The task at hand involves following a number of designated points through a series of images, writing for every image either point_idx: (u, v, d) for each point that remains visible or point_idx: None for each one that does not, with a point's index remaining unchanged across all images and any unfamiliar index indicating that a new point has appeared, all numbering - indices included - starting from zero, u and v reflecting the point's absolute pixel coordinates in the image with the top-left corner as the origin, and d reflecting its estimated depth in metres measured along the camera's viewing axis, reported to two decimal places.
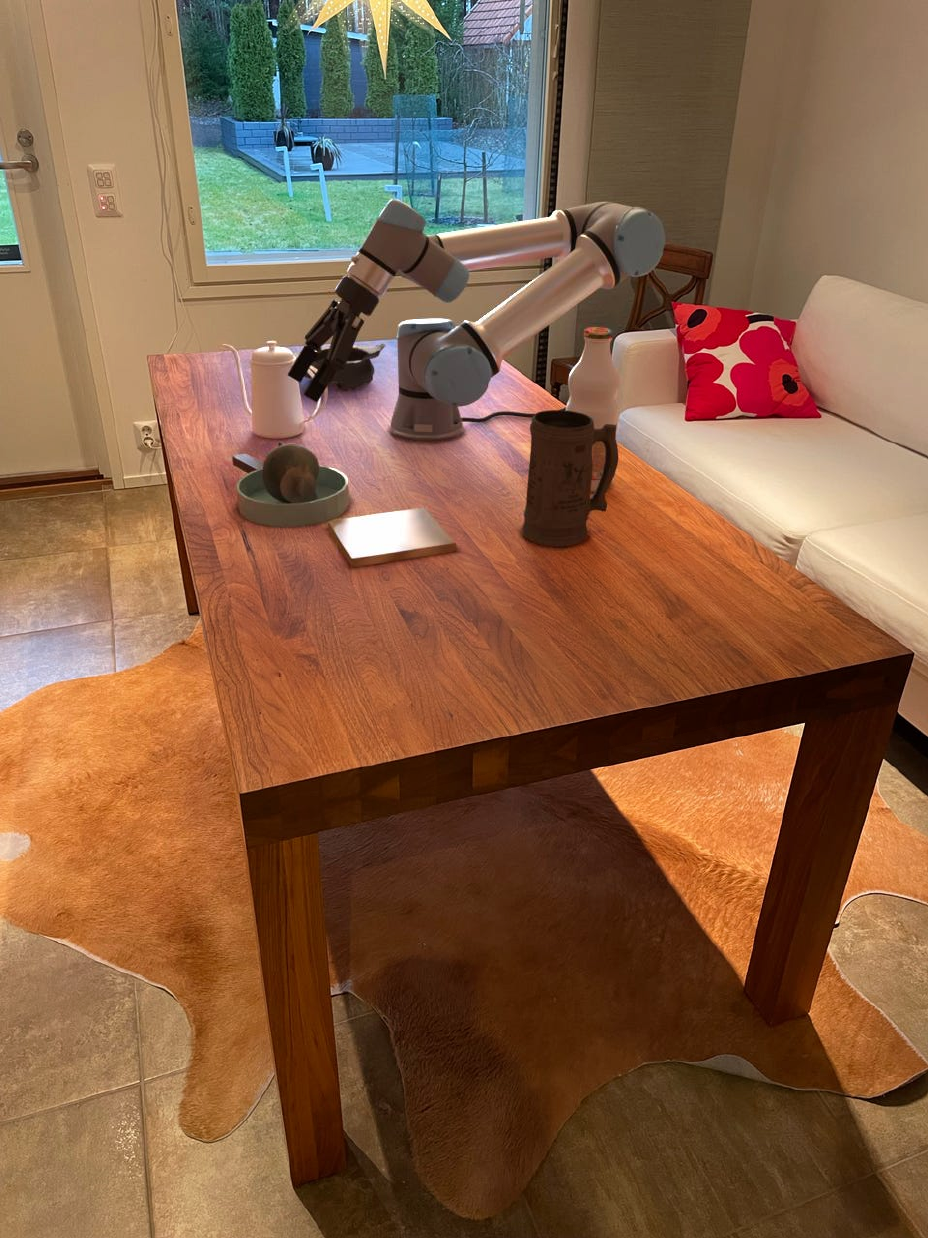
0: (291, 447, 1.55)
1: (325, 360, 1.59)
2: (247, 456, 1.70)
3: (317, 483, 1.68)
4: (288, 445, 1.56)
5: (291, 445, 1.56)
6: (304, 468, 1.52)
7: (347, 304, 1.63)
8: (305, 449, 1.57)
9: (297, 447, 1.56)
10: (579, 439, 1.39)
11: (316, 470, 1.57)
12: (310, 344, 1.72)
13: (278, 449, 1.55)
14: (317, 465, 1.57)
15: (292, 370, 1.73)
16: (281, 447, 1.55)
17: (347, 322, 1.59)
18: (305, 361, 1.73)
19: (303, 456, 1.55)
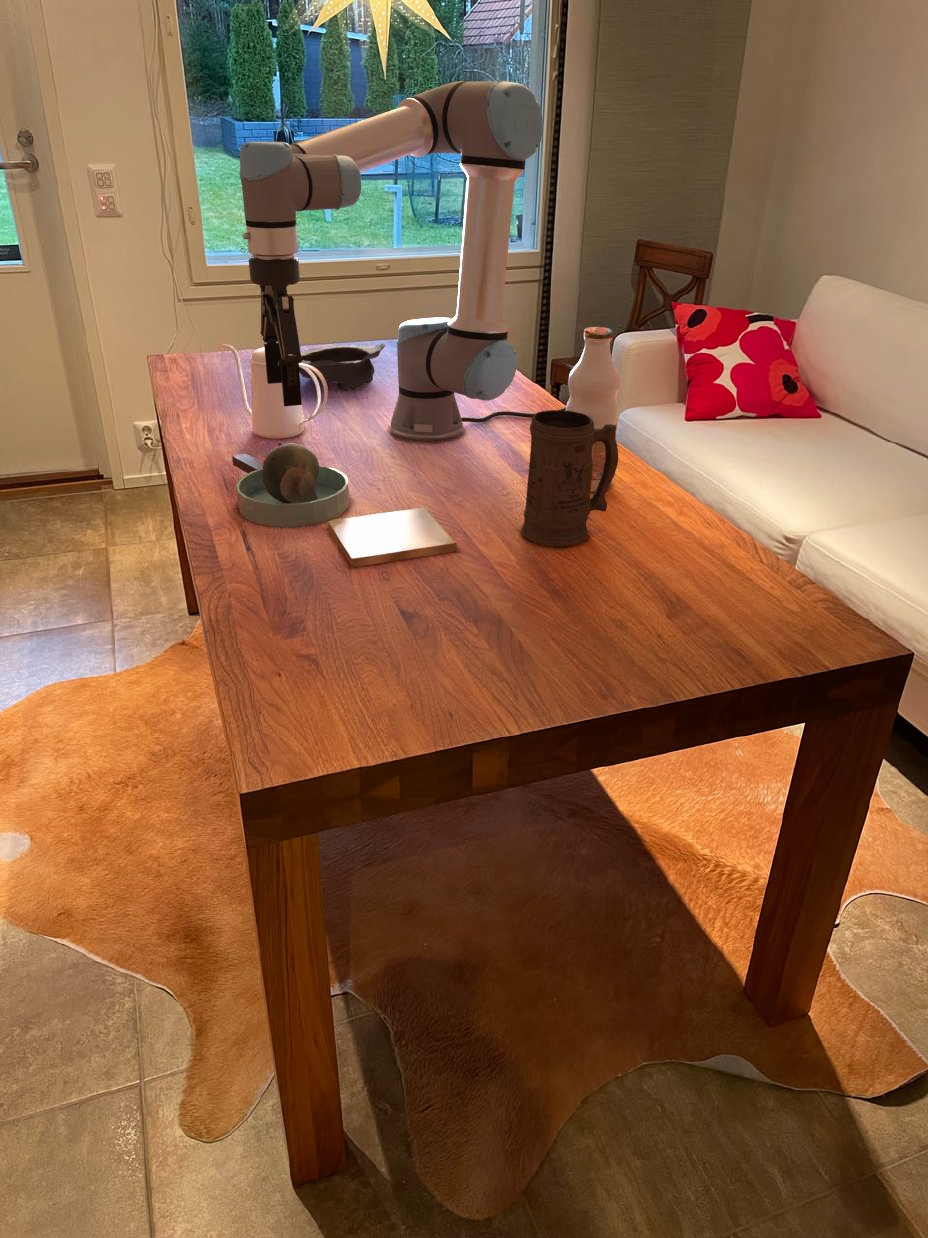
0: (291, 447, 1.55)
1: (280, 362, 1.40)
2: (247, 456, 1.70)
3: (317, 483, 1.68)
4: (288, 445, 1.56)
5: (291, 445, 1.56)
6: (304, 468, 1.52)
7: (270, 286, 1.41)
8: (305, 449, 1.57)
9: (297, 447, 1.56)
10: (579, 439, 1.39)
11: (316, 470, 1.57)
12: (268, 340, 1.53)
13: (278, 449, 1.55)
14: (317, 465, 1.57)
15: (268, 376, 1.55)
16: (281, 447, 1.55)
17: (277, 309, 1.38)
18: (274, 359, 1.54)
19: (303, 456, 1.55)
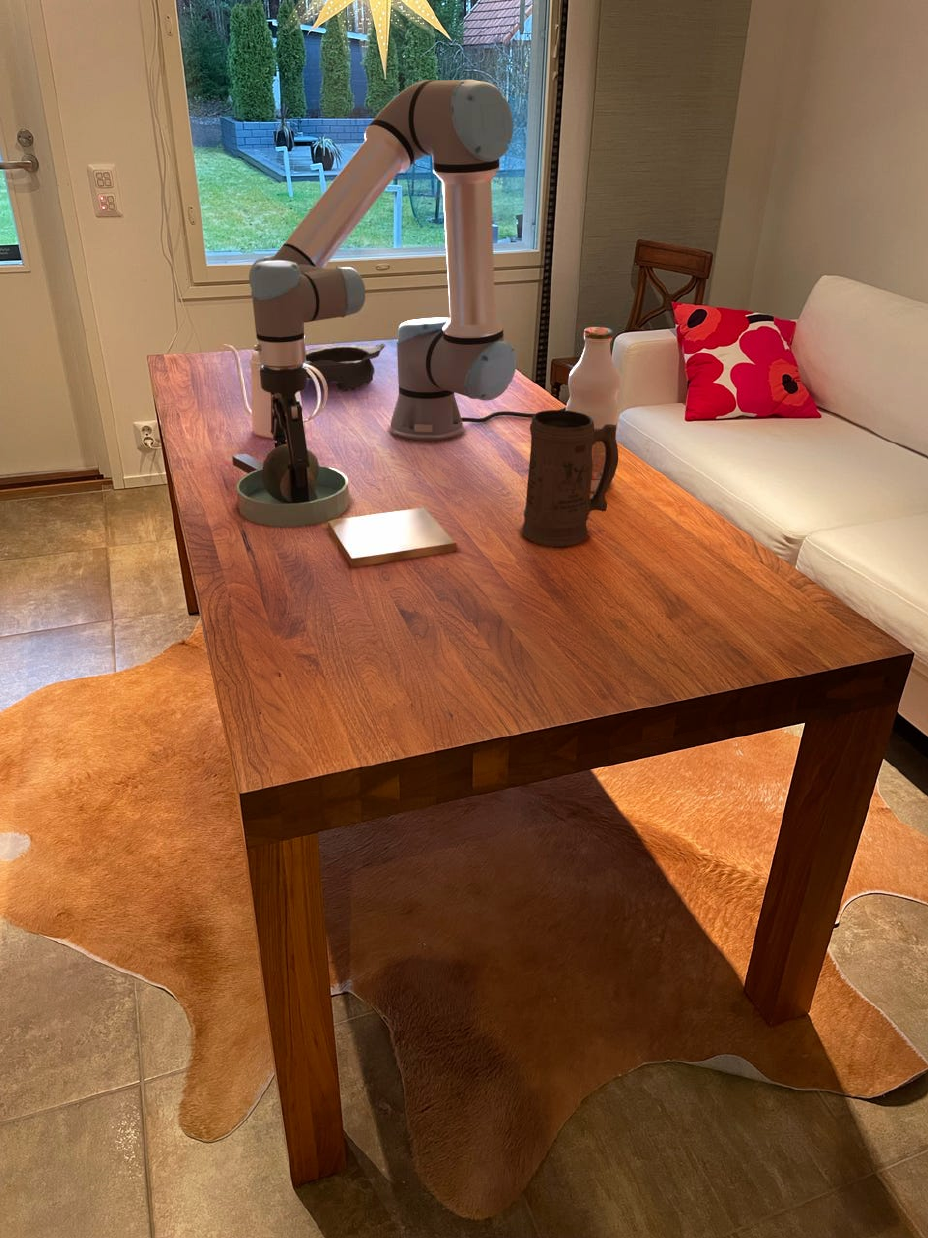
0: None
1: (289, 466, 1.49)
2: (247, 456, 1.70)
3: (317, 483, 1.68)
4: None
5: None
6: None
7: (279, 392, 1.49)
8: None
9: None
10: (579, 439, 1.39)
11: (316, 470, 1.57)
12: (278, 439, 1.61)
13: (278, 449, 1.55)
14: (317, 465, 1.57)
15: None
16: (281, 447, 1.55)
17: (287, 418, 1.46)
18: None
19: None
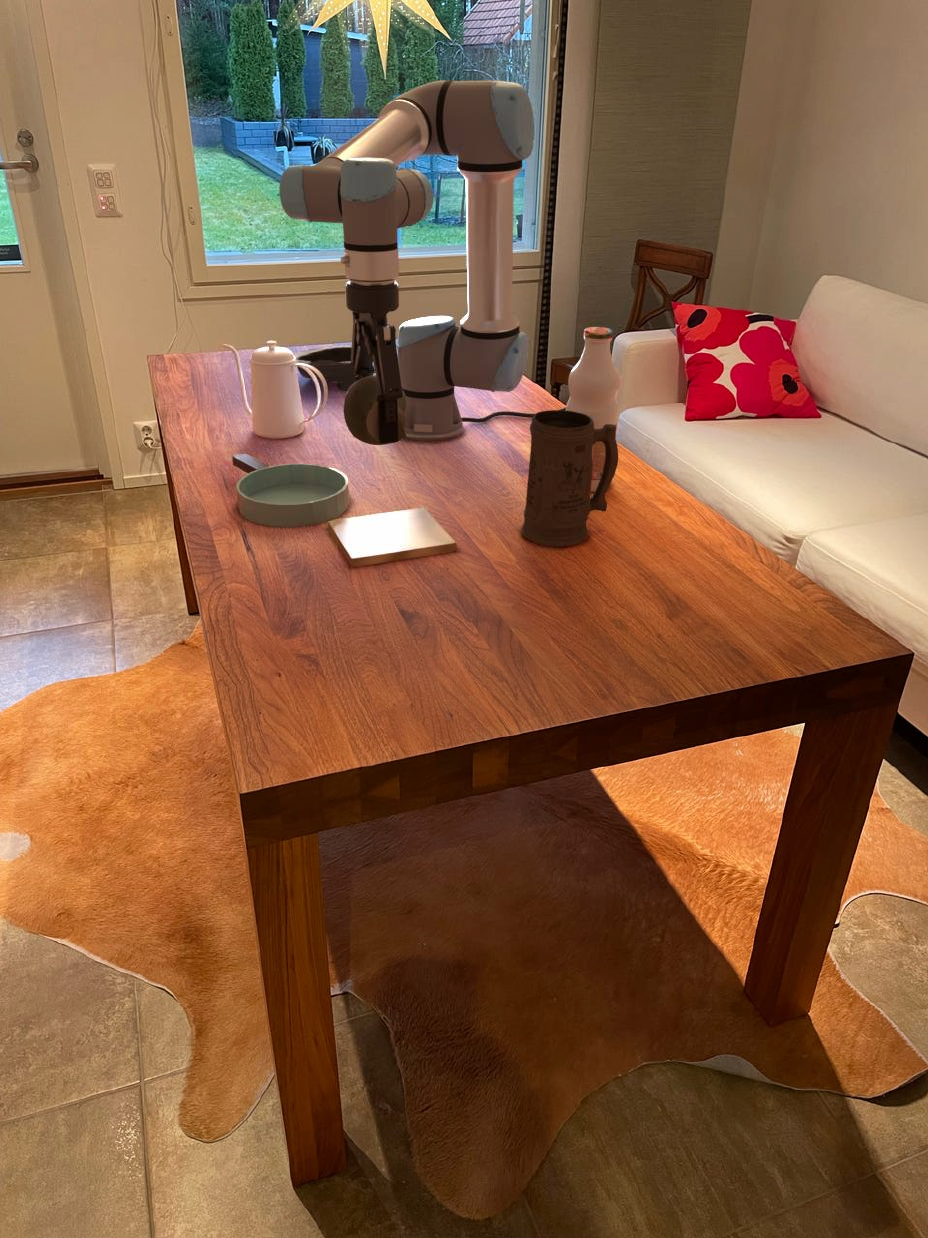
0: None
1: (379, 398, 1.30)
2: (247, 456, 1.70)
3: (317, 483, 1.68)
4: (373, 376, 1.37)
5: None
6: None
7: (367, 313, 1.31)
8: None
9: None
10: (579, 439, 1.39)
11: (404, 405, 1.38)
12: (360, 372, 1.42)
13: (362, 381, 1.37)
14: (405, 400, 1.39)
15: None
16: (365, 379, 1.37)
17: (378, 340, 1.28)
18: None
19: (390, 389, 1.37)
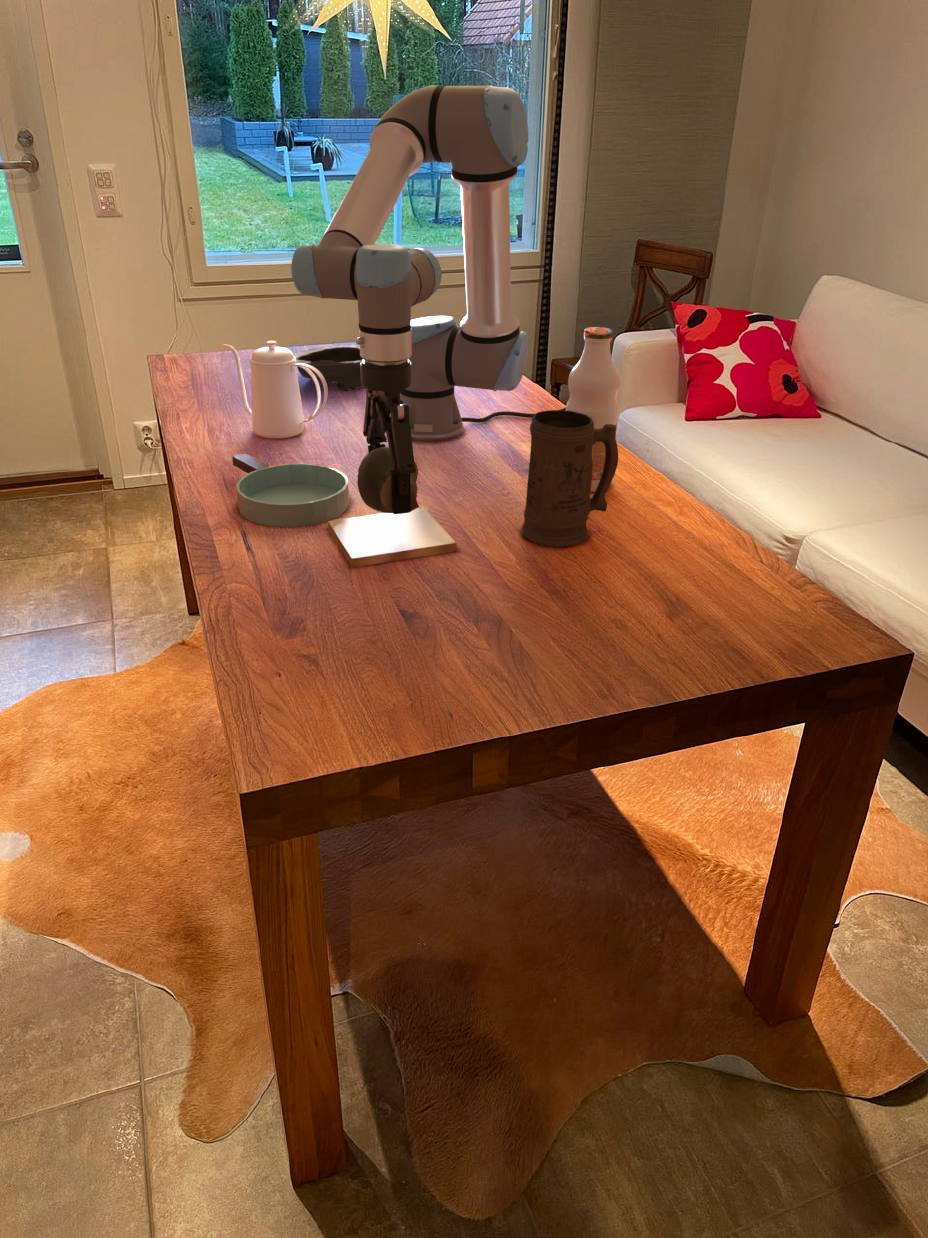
0: None
1: (393, 472, 1.35)
2: (247, 456, 1.70)
3: (317, 483, 1.68)
4: (386, 448, 1.41)
5: None
6: None
7: None
8: None
9: None
10: (579, 439, 1.39)
11: (416, 476, 1.43)
12: (373, 441, 1.47)
13: (375, 453, 1.41)
14: (417, 470, 1.43)
15: None
16: (378, 450, 1.41)
17: (392, 418, 1.32)
18: None
19: None
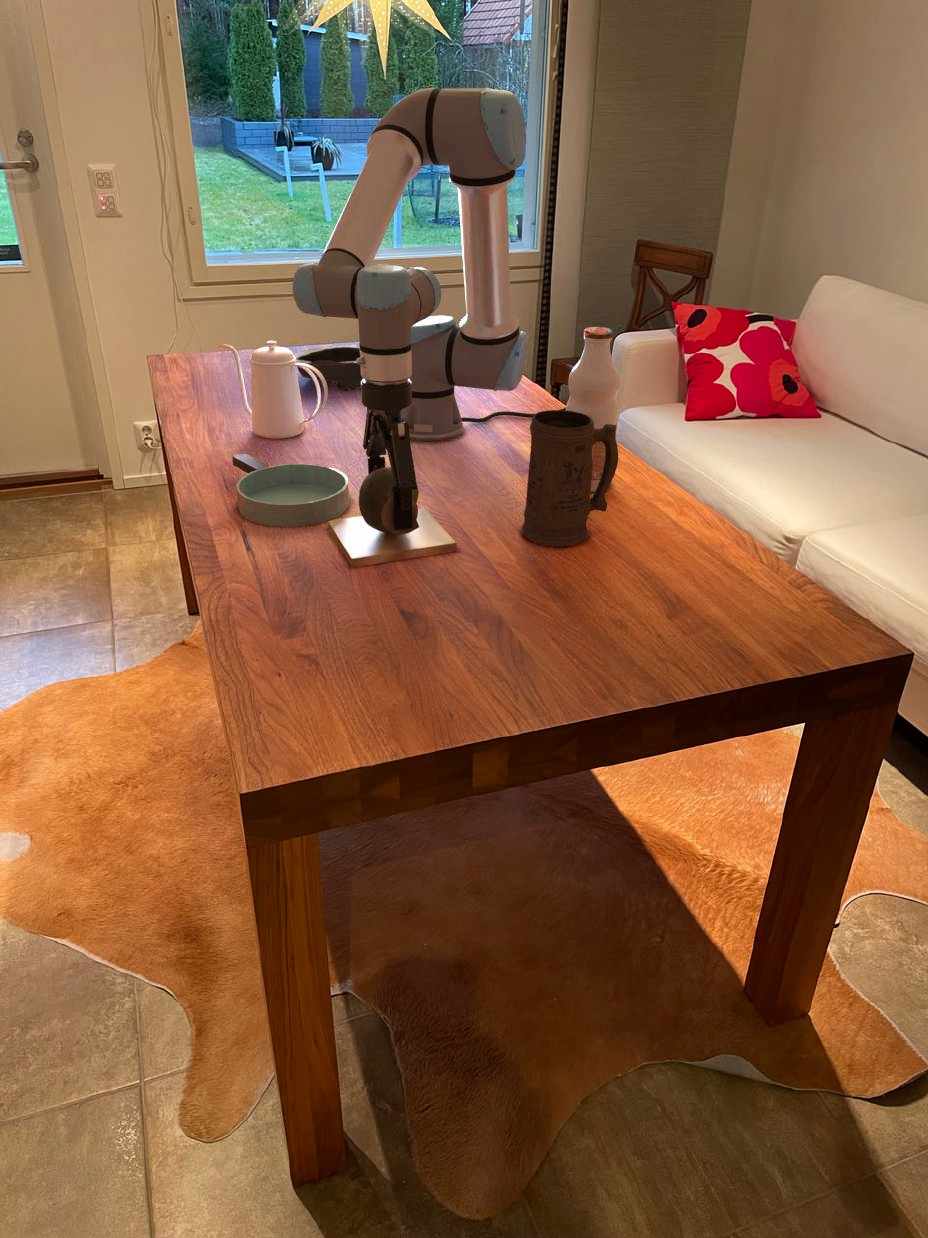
0: (391, 472, 1.43)
1: (394, 489, 1.35)
2: (247, 456, 1.70)
3: (317, 483, 1.68)
4: (387, 469, 1.43)
5: (390, 469, 1.43)
6: None
7: None
8: None
9: None
10: (579, 439, 1.39)
11: (416, 496, 1.44)
12: (372, 454, 1.48)
13: (376, 474, 1.43)
14: (417, 491, 1.45)
15: None
16: (380, 471, 1.43)
17: (392, 436, 1.33)
18: None
19: None
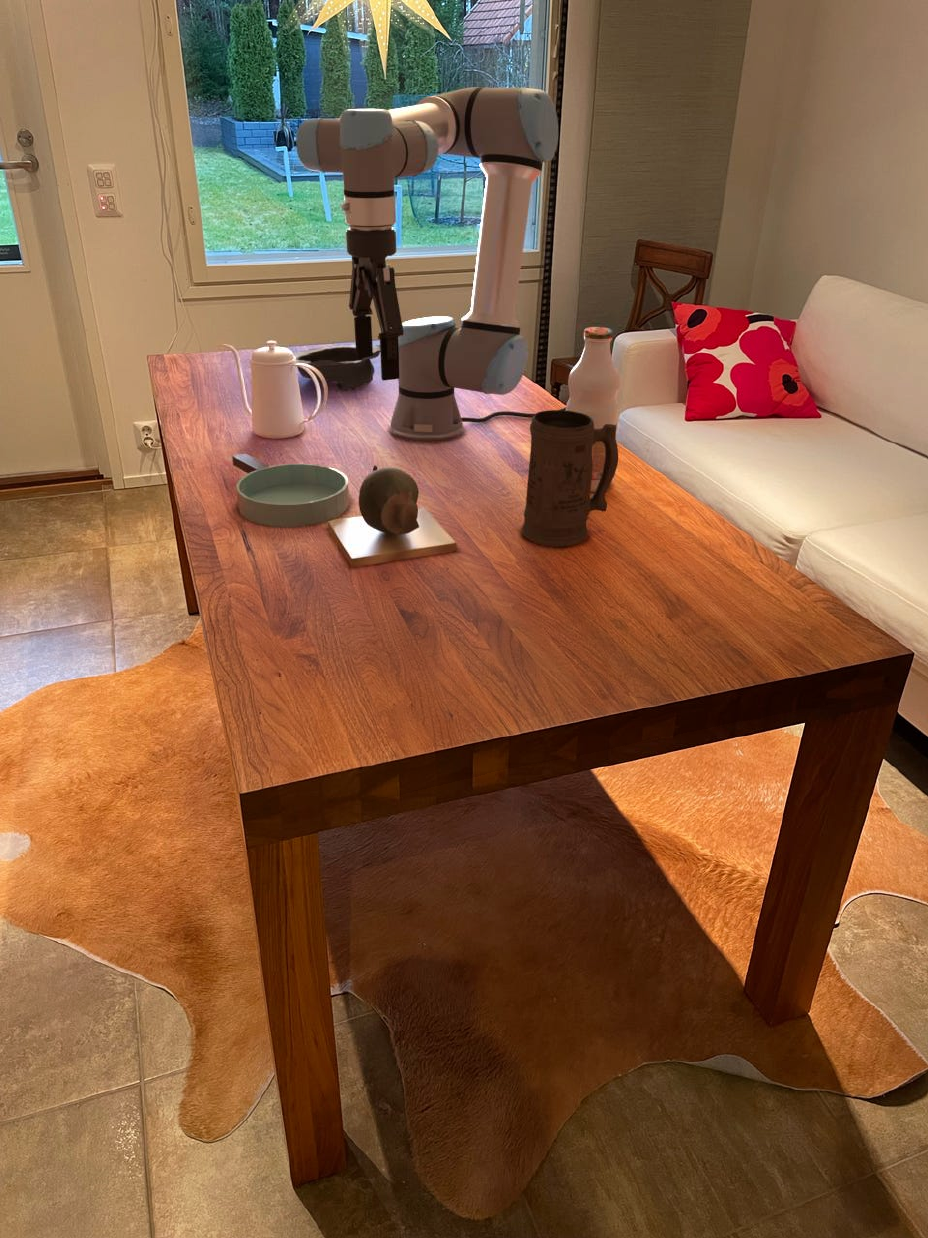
0: (391, 472, 1.43)
1: (381, 335, 1.38)
2: (247, 456, 1.70)
3: (317, 483, 1.68)
4: (387, 469, 1.43)
5: (390, 469, 1.43)
6: (407, 495, 1.40)
7: (367, 257, 1.39)
8: (404, 473, 1.45)
9: (396, 471, 1.43)
10: (579, 439, 1.39)
11: (416, 496, 1.44)
12: (358, 313, 1.51)
13: (376, 474, 1.43)
14: (417, 491, 1.45)
15: (358, 350, 1.53)
16: (380, 471, 1.43)
17: (378, 281, 1.36)
18: (364, 333, 1.52)
19: (403, 481, 1.43)
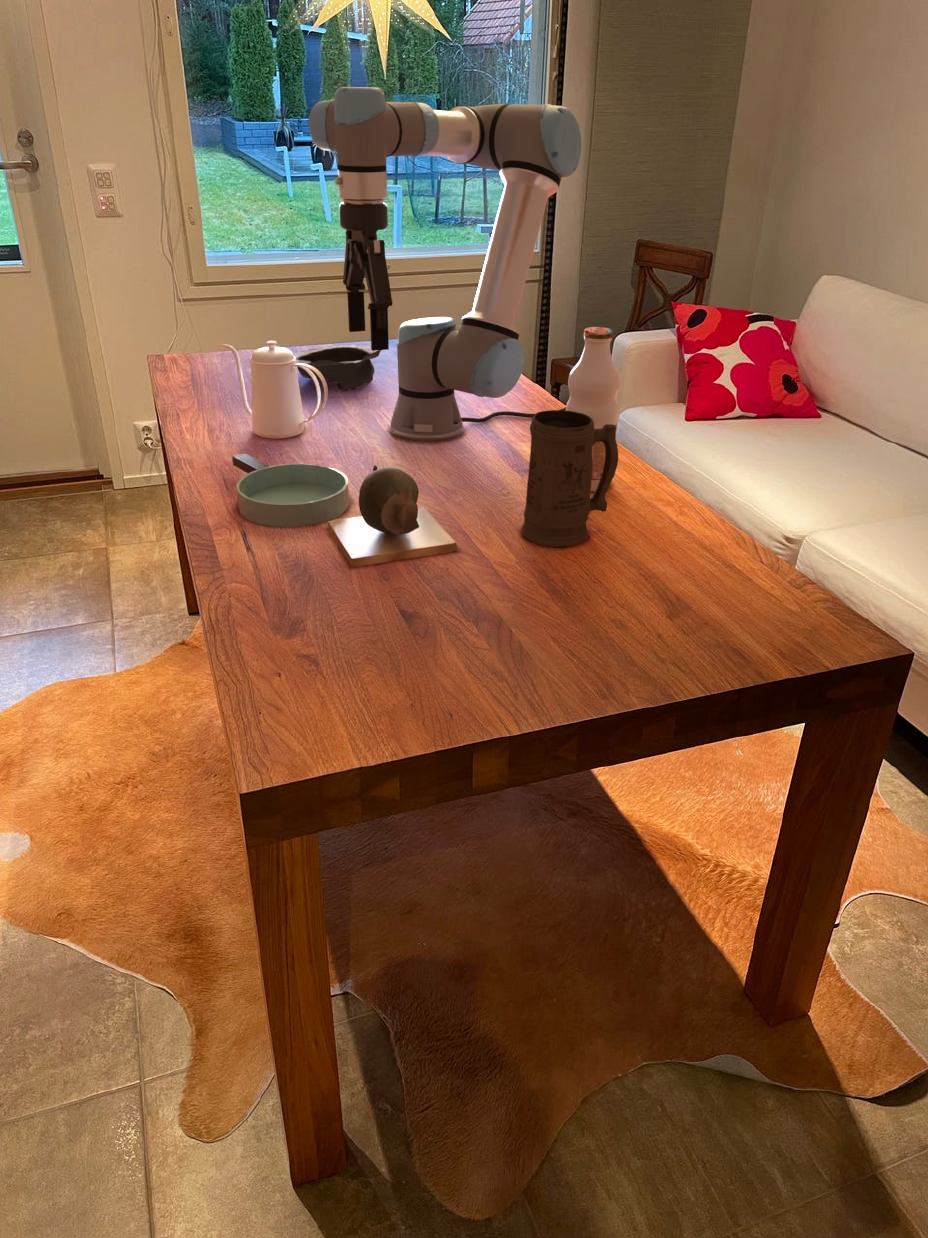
0: (391, 472, 1.43)
1: (371, 305, 1.43)
2: (247, 456, 1.70)
3: (317, 483, 1.68)
4: (387, 469, 1.43)
5: (390, 469, 1.43)
6: (407, 495, 1.40)
7: (359, 231, 1.44)
8: (404, 473, 1.45)
9: (396, 471, 1.43)
10: (579, 439, 1.39)
11: (416, 496, 1.44)
12: (352, 288, 1.56)
13: (376, 474, 1.43)
14: (417, 491, 1.45)
15: (351, 324, 1.58)
16: (380, 471, 1.43)
17: (369, 253, 1.41)
18: (357, 307, 1.57)
19: (403, 481, 1.43)
